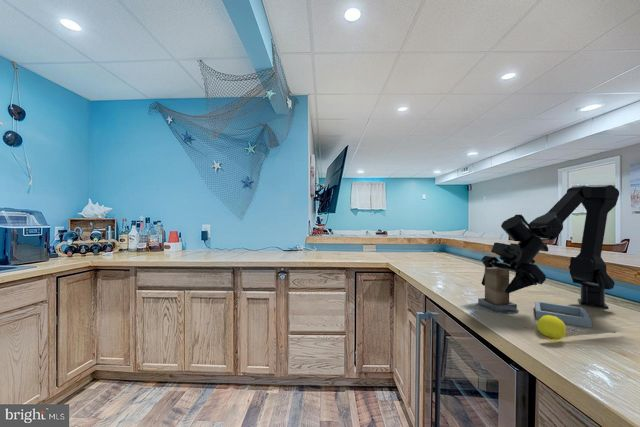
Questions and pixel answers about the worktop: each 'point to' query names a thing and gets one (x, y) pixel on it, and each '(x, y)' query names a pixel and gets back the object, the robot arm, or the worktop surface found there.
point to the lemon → (551, 327)
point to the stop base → (497, 307)
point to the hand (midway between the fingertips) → (493, 288)
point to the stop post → (496, 285)
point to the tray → (569, 319)
